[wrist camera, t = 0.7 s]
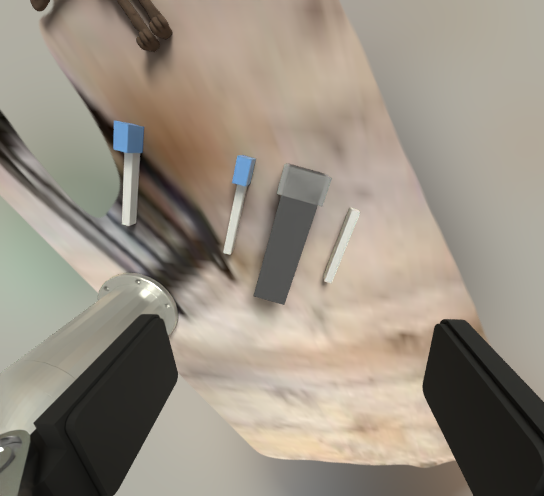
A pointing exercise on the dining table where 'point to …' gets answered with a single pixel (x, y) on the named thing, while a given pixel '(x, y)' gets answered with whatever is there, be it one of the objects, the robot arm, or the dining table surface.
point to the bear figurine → (136, 22)
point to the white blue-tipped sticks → (132, 144)
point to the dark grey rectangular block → (290, 229)
